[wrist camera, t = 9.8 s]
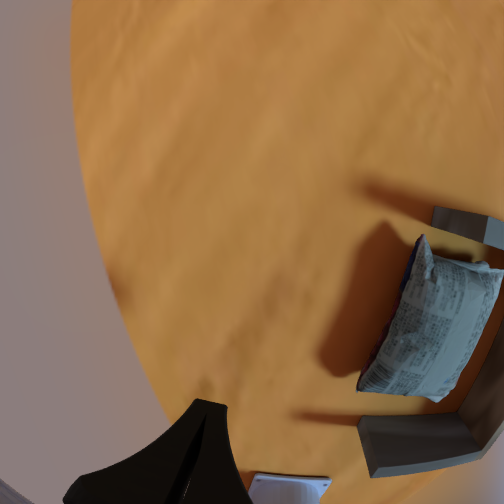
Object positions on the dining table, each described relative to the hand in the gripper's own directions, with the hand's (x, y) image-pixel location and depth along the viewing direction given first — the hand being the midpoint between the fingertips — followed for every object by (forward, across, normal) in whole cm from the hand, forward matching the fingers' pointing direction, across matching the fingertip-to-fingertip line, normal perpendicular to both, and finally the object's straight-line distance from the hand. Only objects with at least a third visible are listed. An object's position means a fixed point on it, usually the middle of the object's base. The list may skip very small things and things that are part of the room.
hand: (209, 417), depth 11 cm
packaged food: (+9, -14, -3) cm, 17 cm away
